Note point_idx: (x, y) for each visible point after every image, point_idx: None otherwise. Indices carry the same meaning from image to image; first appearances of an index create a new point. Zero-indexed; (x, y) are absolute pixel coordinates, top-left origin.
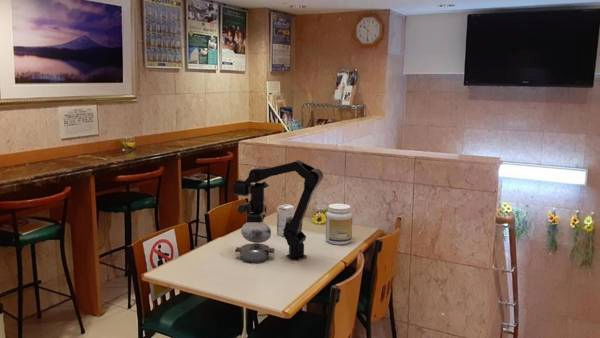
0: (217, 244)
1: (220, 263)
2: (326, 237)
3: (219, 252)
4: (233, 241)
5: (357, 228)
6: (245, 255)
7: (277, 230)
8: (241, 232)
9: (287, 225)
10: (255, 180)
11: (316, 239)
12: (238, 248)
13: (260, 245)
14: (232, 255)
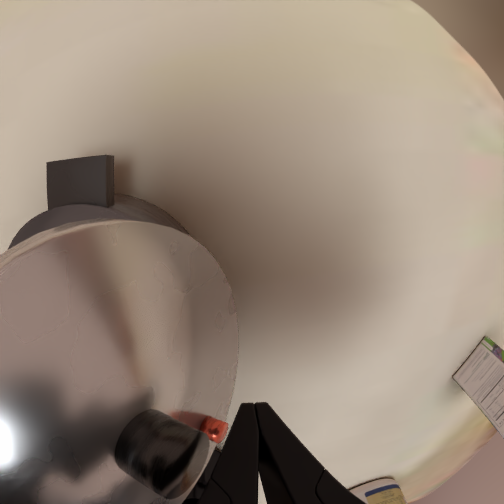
0: (380, 11)
1: (21, 96)
2: (364, 494)
3: (216, 20)
4: (443, 109)
5: (434, 481)
6: None
7: (496, 348)
8: (68, 226)
9: None
10: None
11: (393, 460)
12: (76, 181)
13: None
14: (150, 119)
